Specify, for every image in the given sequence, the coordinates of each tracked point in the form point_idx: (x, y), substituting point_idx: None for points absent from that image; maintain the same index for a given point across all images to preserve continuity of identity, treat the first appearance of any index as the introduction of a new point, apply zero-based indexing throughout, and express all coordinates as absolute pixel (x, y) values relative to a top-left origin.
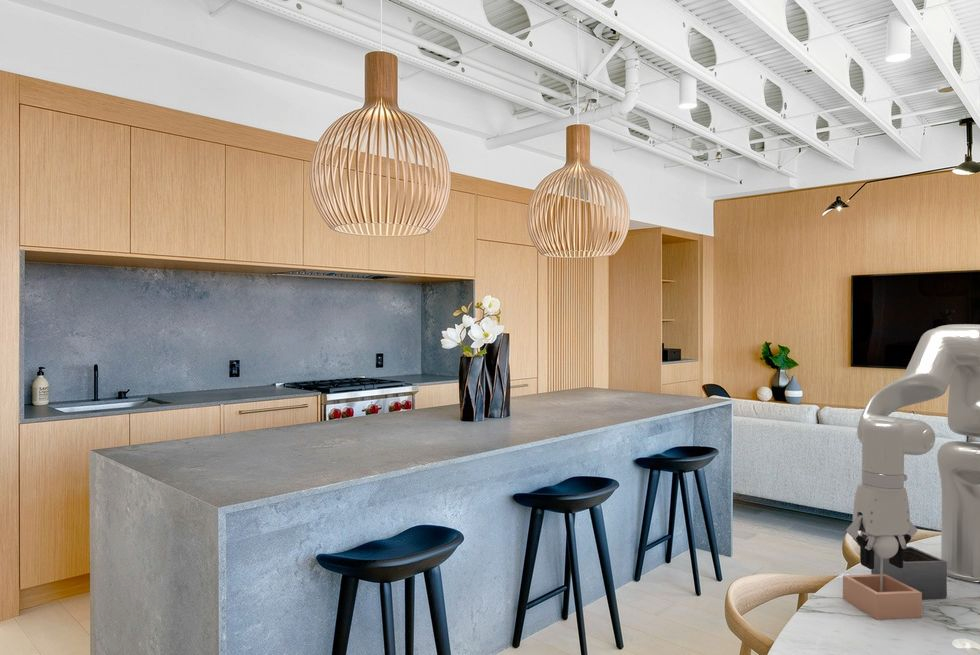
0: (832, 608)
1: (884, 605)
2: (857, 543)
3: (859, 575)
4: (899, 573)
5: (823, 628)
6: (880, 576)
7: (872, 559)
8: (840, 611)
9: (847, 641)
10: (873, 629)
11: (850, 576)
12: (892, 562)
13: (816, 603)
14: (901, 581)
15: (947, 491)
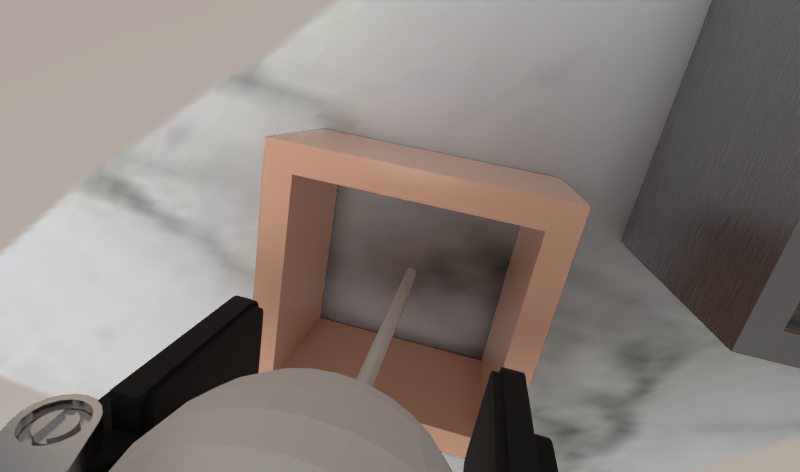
0: (204, 197)
1: None
2: (28, 410)
3: (375, 169)
4: (699, 248)
5: (74, 308)
6: (376, 336)
7: None
8: (217, 229)
9: (97, 390)
10: None
11: (299, 166)
12: (481, 412)
13: (170, 134)
14: (668, 250)
15: None
